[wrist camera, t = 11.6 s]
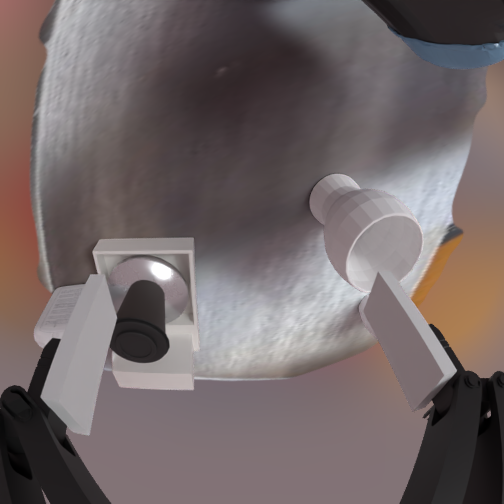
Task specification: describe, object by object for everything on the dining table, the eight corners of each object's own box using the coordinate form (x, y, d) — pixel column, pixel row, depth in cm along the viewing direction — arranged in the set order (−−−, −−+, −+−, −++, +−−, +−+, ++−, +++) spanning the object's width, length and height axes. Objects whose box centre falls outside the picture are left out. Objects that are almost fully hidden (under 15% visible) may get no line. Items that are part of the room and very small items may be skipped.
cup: (319, 245, 44) (359, 312, 31) (284, 190, 39) (322, 247, 26) (377, 208, 42) (434, 262, 29) (350, 149, 36) (415, 187, 24)
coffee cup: (118, 309, 40) (104, 361, 32) (120, 266, 37) (101, 318, 28) (170, 319, 43) (165, 373, 34) (178, 277, 39) (173, 332, 30)
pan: (105, 247, 38) (98, 260, 36) (186, 246, 40) (185, 259, 37) (120, 310, 45) (116, 324, 42) (191, 311, 46) (190, 325, 44)
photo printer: (63, 305, 44) (39, 357, 33) (53, 285, 41) (25, 337, 31) (110, 300, 44) (92, 357, 34) (101, 279, 42) (78, 336, 32)
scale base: (99, 239, 38) (72, 287, 29) (193, 237, 40) (189, 288, 31) (125, 338, 49) (115, 389, 40) (200, 339, 51) (200, 392, 42)
